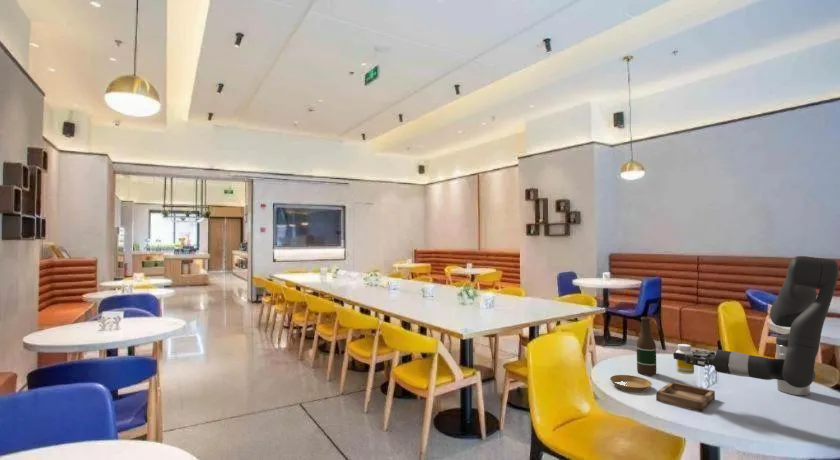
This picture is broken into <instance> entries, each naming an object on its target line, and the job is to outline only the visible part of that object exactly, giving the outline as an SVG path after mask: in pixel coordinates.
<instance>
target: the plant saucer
mask: <svg viewBox="0 0 840 460" xmlns="http://www.w3.org/2000/svg"><path fill="white" fill-rule="evenodd" d="M609 379H610V382H611V383H612V384H613V385H614V386H615V387H616V386H617V387H616V388H617V389H620V390H622V389H623V391H627V392H633V393H634V392H635V393H637V392H639V393H640V392H645V391H647V390H648V389H649V388H651V387H652V386H653V383H652V382H651V381H650V380H649V379H647V378H643V377H641V376H635V375H631V374H617V375H616V374H615V375H612V376H611V377H610V378H609ZM621 381H623V382H625V383H626V382H627V383H626V384H625V386H624V385H620V384H617V383H615V382H621ZM626 385H627V386H626Z"/></svg>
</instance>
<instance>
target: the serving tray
mask: <svg viewBox="0 0 840 460" xmlns="http://www.w3.org/2000/svg"><path fill="white" fill-rule="evenodd" d="M715 394H716V393H715V390H711V389H707V388H702V387H697V386H693V385H688V384H684V383H679V382H676V381H675V382H674V381H670V382H669V383H667V384H666V385H664V386H663V387H661V388H660V389H658V390H656V393H655V395H656V397H655V398H656V401H657V402H660V403H661V402H662V403H664V404H668V405H673V406H677V407H681V408H685V409H689V410H692V411H697V412H700V413H702V412H703V411H705V409H707V408H708V407H709V406H710V405H711V404H712V403H713V402H714V401H715V399H716V395H715Z"/></svg>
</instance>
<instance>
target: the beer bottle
mask: <svg viewBox="0 0 840 460" xmlns="http://www.w3.org/2000/svg"><path fill="white" fill-rule="evenodd" d="M640 320H641V328H640V335H639V336H638V338H637V341H636V371H637V374H639V373H640V375H643V376H647V377H649V376H650V377H654V376H656V375H657V346H656V342H655V340H654V338H653V337H652V334H651V322H650V321H651V318H650V317H649V316H642V317H640Z"/></svg>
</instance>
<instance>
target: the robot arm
mask: <svg viewBox="0 0 840 460" xmlns="http://www.w3.org/2000/svg"><path fill="white" fill-rule="evenodd" d="M838 264H839V263H838V262H837V261H836V260H834V259H830V258H825V257H824V258H823V257H815V256H814V257H813V256H806V255H800V256H799V255H798V256H795V257H793V258H792V259H791V260H790V262H789V264H788V267H787V272H786V276H785V280H784V282H783V284H782V286H781V287H780V289H779V292H778V296H777V298H776V300H774V301H773V303H772V305H771V307H770V311H769V315H770V316H769V317H770V321H771V322H772V323H773V325H775V326H777V327H781V328H790V329H789V332H788V333H784V334H780V335H777V336H776V338H775V344H776V345H775V347H776V348H775V349H776V350H775V351H776V358H769V357H764V356H759V355H758V356H757V355H752V354H751V355H750V354H747V353H743V352H742V353H741V352H736V351H729V350H722V349H716V350H715V352H714V351H706V350H698V349H695V350H690V351H691V352H693V355H689V354H681V353H676V352H673V359H674V360H676V359H677V360H683V361H685V362H686V363H687V364H692V365H694V366H697V367H702V368H703V367H709V366H713V367H714V370H715V371H716V372H717V373H719V374H720V373H721V374H726V375H731V376H738V377H745V378H746V377H747V378H752V379H759V380H763V381H764V380H766V381H771V380H776V382H777V384H776V385H777V390H778V391H780V392H782V393H786V394H789V395H796V396H802V395H806V396H810V395H811V385H812V383H813V382H814V381H815V378H816V372H815V363H816V358H817V356H818V353H819V349H820V344H821V343H820V342H821V339H822V338H821V337H822V331H823V327H824V323H825V321H826V318H827V314H828V311H829V309H830V306H831V303H832V299H833V297H834V294H835V290H836V286H837V283H838V279H839V271H840V270H839V269H840V268H839V265H838ZM816 289H818V290H819V291H818V293H817V290H816ZM690 358H691V359H693V360H690ZM809 394H810V395H809Z"/></svg>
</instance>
